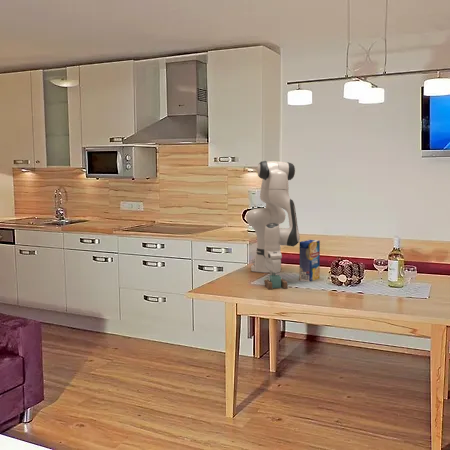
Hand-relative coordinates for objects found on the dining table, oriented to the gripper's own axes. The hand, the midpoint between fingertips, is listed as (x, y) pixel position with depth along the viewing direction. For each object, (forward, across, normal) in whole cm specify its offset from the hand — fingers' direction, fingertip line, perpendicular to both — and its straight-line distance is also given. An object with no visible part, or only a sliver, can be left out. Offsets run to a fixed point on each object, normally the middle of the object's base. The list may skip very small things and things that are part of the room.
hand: (272, 277), depth 316 cm
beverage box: (+4, -8, +24) cm, 26 cm away
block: (+4, +6, 0) cm, 7 cm away
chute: (+4, +7, 0) cm, 8 cm away
